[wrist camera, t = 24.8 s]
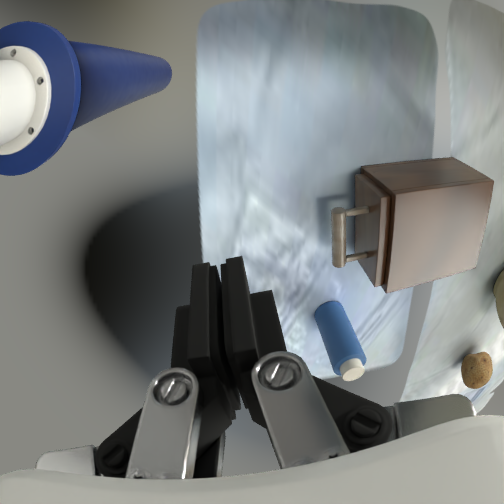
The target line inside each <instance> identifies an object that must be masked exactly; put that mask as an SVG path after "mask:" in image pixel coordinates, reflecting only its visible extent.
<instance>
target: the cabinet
mask: <svg viewBox="0 0 504 504" xmlns="http://www.w3.org/2000/svg"><path fill="white" fill-rule="evenodd" d="M361 174H365V175H366V176H367V177H369V178H370V179H371V180H372V181H373V182H375V183H376V184H377V185H378V186H379V187H381V188H382V189H383V190H384V191H385V192H386V193H388V194H389V195H390V196H391V198H392V202H391V220H390V233H389V245H388V256H387V265H386V267H385V274H384V283H383V285H381V287H382V288H383V289H384V291H385V293H390V292H394V291H398V290H402V289H405V288H409V287H413V286H416V285H420V284H423V283H427V282H430V281H434V280H437V279H441V278H444V277H448V276H451V275H454V274H458V273H461V272H464V271H467V270H470V269H474V268H476V264H477V260H478V257H479V253H480V249H481V245H482V241H483V237H484V232H485V228H486V223H487V218H488V213H489V208H490V203H491V197H492V191H493V184H494V181H493V180H492V179H490V178H489V177H487V176H485V175H484V174H482V173H480V172H479V171H477V170H475V169H473V168H472V167H470V166H468V165H466V164H465V163H463V162H461V161H459V160H457V159H455V158H453V157H449V158H436V159H425V160H414V161H404V162H394V163H385V164H376V165H368V166H361Z"/></svg>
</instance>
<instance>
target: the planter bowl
mask: <svg viewBox="0 0 504 504" xmlns="http://www.w3.org/2000/svg"><path fill="white" fill-rule="evenodd" d="M493 293H494V296H495V298H496V307H497V312H498V316H499V319H500V322H501V324H502V326H503V328H504V270H503V271H502V272H501V273H500V275H499V277H498V279H497V280H496V283H495V285H494V289H493Z"/></svg>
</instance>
